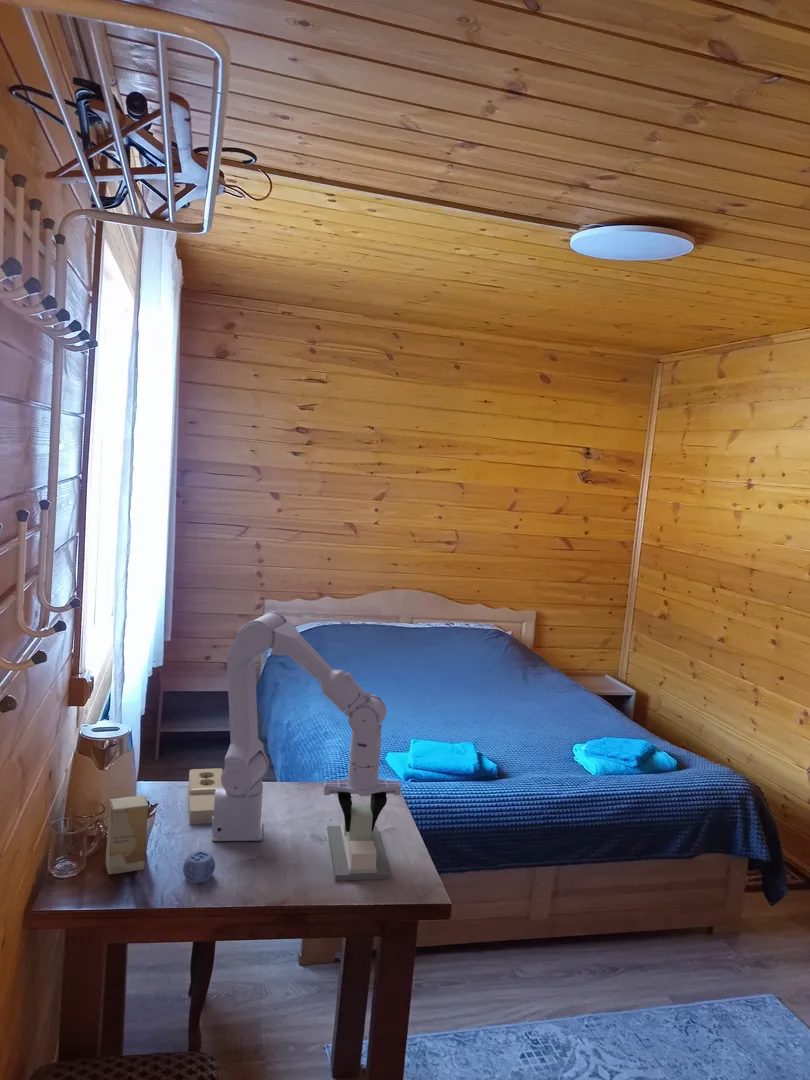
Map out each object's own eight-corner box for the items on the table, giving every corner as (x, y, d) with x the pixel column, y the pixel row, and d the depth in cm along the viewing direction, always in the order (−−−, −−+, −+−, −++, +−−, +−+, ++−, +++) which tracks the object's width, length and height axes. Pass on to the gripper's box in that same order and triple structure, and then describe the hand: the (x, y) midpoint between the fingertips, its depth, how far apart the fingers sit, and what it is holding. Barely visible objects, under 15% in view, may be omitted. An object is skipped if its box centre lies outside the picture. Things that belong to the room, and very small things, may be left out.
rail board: (335, 880, 141) (337, 855, 140) (327, 830, 159) (329, 808, 158) (389, 879, 143) (392, 854, 142) (376, 830, 160) (377, 807, 160)
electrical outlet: (190, 806, 156) (189, 768, 173) (189, 825, 157) (188, 786, 174) (227, 804, 158) (222, 767, 175) (226, 823, 159) (221, 784, 176)
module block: (349, 846, 147) (351, 816, 147) (346, 832, 152) (348, 803, 152) (370, 845, 148) (372, 815, 147) (366, 832, 153) (369, 803, 152)
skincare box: (108, 876, 137) (110, 809, 135) (105, 863, 140) (107, 798, 139) (146, 869, 140) (149, 804, 138) (142, 857, 143) (145, 793, 142)
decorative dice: (214, 875, 140) (216, 854, 139) (200, 886, 136) (201, 865, 135) (196, 869, 141) (197, 848, 141) (181, 879, 137) (183, 858, 137)
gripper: (327, 770, 143) (322, 840, 145) (405, 770, 146) (399, 839, 148) (324, 754, 150) (319, 821, 152) (399, 755, 153) (393, 821, 154)
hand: (358, 829), depth 150 cm, fingers closed on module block, 4 cm apart
